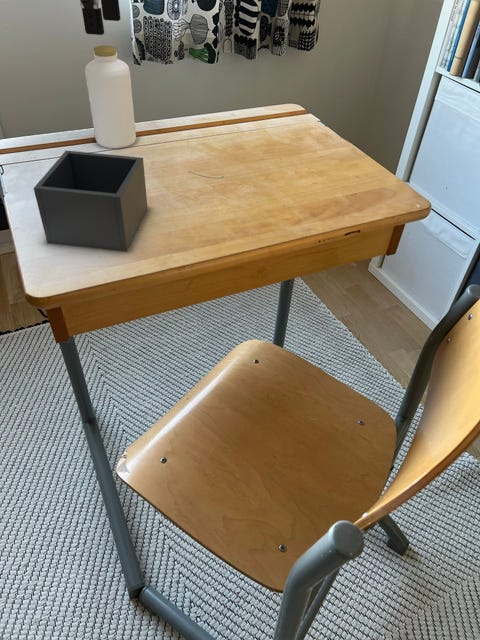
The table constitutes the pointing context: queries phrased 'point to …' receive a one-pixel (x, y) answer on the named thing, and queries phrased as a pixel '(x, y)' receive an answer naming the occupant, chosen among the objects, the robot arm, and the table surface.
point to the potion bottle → (110, 99)
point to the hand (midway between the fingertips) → (103, 26)
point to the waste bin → (93, 200)
